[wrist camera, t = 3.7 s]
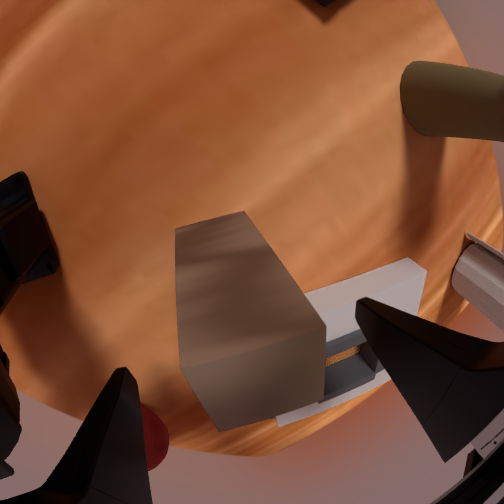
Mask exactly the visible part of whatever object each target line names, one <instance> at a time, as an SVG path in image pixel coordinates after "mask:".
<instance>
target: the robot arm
mask: <svg viewBox="0 0 504 504" xmlns="http://www.w3.org/2000/svg"><path fill="white" fill-rule="evenodd" d="M18 177H19V178H20V179H21V184H20V183H19V182H18ZM49 263H52V264H53V266H54V267H52V266H50V264H49ZM58 267H59V262H58V260H57V257H56V255H55V253H54V251H53V248H52V246H51V244H50V238H49V235H48V233H47V230H46V228H45V225H44V223H43V220H42V217H41V215H40V212H39V209H38V206H37V203H36V202H35V201H34V198H33V195H32V192H31V189H30V185H29V182H28V179H27V176H26V174H25V173H24V172H22V171H20V172H17V173H15V174H13V175H11V176H10V177H8V178H6V179H5V180H3V181H1V182H0V315H1V313H2V312H3V310H4V309H5V307H6V306H7V304H8V303H9V301H10V300H11V298H12V297H13V295H14V294H15V292H16V291H17V290H18V288H19V287H20V285H21V284H23V283H26V282H29V281H32V280H35V279H38V278H41V277H44V276H47V275H50V274H53V273H55V272H56V271H57V269H58ZM355 319H356V322H357V324H358V325H359V327H360V329H361V331H362V333H363V335H364V336H365V338H366V340H367V342H368V344H369V346H370V348H371V349H372V351H373V353H374V354H375V356H376V357H377V358H378V360H379V361H380V363H381V364H382V366H383V367H384V369H385V370H386V372H387V373H388V375H389V376H390V378H391V379H392V380H393V382H394V383H395V385H396V387H397V388H398V390H399V391H400V393H401V394H402V396H403V397H404V399H405V400H406V402H407V403H408V405H409V406H410V408H411V409H412V411H413V413H414V414H415V416H416V417H417V419H418V420H419V422H420V424H421V425H422V427H423V429H424V430H425V432H426V433H427V435H428V437H429V438H430V440H431V441H432V443H433V445H434V446H435V448H436V450H437V451H438V453H439V454H440V456H441V458H442V460H443V461H444V462H445V463H446V462H447V461H448V460H449V459H451V458H452V457H453V456H454V455H456V454H457V453H458V452H459V451H460V450H462V449H463V448H464V447H465V446H466V445H467V444H468V443H470V442H471V444H472V445H473V446H474V449H473V450H472V451H471V452H470V453H469V454H468V456H467V462H466V467H465V471H464V476H463V479H461V480H460V481H459V482H458V483H457V484H455V485H454V486H453V487H452V488H450V489H449V490H448V491H447V492H445V493H444V494H443V495H441V496H440V497H439V498H437V499H436V500H435V501H433V502H432V503H430V504H504V342H491V341H487V340H483V339H480V338H477V337H473V336H469V335H466V334H463V333H459V332H456V331H454V330H451V329H448V328H446V327H443V326H439V325H438V324H435V323H433V322H430V321H428V320H425V319H422V318H420V317H417V316H415V315H412V314H409V313H407V312H404V311H402V310H399V309H397V308H394V307H391V306H389V305H386V304H384V303H381V302H379V301H376V300H373V299H371V298H368V297H363V298H361V299H358V300H357V301H356V308H355ZM9 363H10V362H9V359H8V357H7V355H6V353H5V352H3V349H2V347H1V345H0V479H3V478H6V477H9V476H12V475H13V474H14V469H13V468H12V467H11V466H10V465H9V464H7V463H6V462H5V461H4V460H5V459H6V458H7V457H8V456H9V455H10V453H11V452H12V450H13V448H14V447H15V445H16V444H17V442H18V440H19V436H20V433H21V431H22V427H21V425H20V423H19V422H20V402H19V399H18V395H17V392H16V387H15V385H14V384H13V382H12V380H11V378H10V376H9ZM149 484H150V483H149V476H148V468H147V460H146V450H145V439H144V426H143V416H142V410H141V404H140V398H139V391H138V385H137V381H136V379H135V378H134V377H133V375H132V374H131V372H130V371H129V370H128V368H126V367H121V368H117V369H115V371H114V372H113V374H112V375H111V377H110V379H109V380H108V382H107V383H106V385H105V387H104V388H103V390H102V392H101V393H100V395H99V396H98V398H97V400H96V401H95V403H94V405H93V406H92V408H91V410H90V411H89V413H88V415H87V416H86V418H85V420H84V422H83V423H82V425H81V427H80V429H79V430H78V432H77V434H76V436H75V437H74V439H73V441H72V442H71V444H70V446H69V447H68V449H67V451H66V452H65V454H64V455H63V457H62V458H61V460H60V462H59V463H58V464H57V466H56V467H55V469H54V470H53V472H52V473H51V475H50V476H49V478H48V479H47V480H46V482H45V483H44V484H43V485H42V486H41V487H39V488H38V489H35V490H33V491H30V492H27V493H24V494H21V495H18V496H15V497H12V498H9V499H6V500H0V504H153V503H152V497H151V490H150V485H149Z"/></svg>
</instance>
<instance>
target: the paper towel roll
mask: <svg viewBox="0 0 504 504" xmlns="http://www.w3.org/2000/svg"><path fill="white" fill-rule="evenodd" d="M467 235H468V237H469V238H470V239H472V240H473V241H475V242H477V243H474V244H471V245H470V246H469V247H467V248H466V249H465V250H464V252H463V253H462V255H461V256H460V258H459V260H458V262H457V264H456V266H455V268H454V272H453V275H452V286H453V288H454V290H455V291H456V292H458V293H459V294H460V295H461V296H463V297H464V298H465V299H466V300H467V301H469V302H470V303H471V304H472V305H473V306H475V307H476V308H477V309H478V310H479V311H480V312H482V313H483V314H484V315H485V316H486V317H488V318H489V319H490V320H491V321H492V322H493V323H494V324H495V325H496V326H498V327H499V328H500V329H501V330H502V331H503V332H504V254H503V253H502V252H500V251H498V250H497V249H495V248H494V247H492V246H490V245H489V244H487V243H485V242H484V241H482V240H481V239H479V238H477V237H475V236H474V235H472V234H470V233H469V232H467Z"/></svg>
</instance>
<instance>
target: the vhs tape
mask: <svg viewBox="0 0 504 504" xmlns="http://www.w3.org/2000/svg"><path fill="white" fill-rule="evenodd" d="M316 1H317V2H319V3H320V4H321V5H322V6H323V7H325V6H326V5H328V4H329V3H331V2H333V1H335V0H316Z"/></svg>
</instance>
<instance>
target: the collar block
mask: <svg viewBox="0 0 504 504" xmlns="http://www.w3.org/2000/svg"><path fill="white" fill-rule="evenodd" d="M426 273H427V271H426V270H425V269H423V268H422V267H421V266H419V265H418V264H417V263H415V262H414V261H413V260H411V259H410V258H408V257H406V258H404V259H401V260H399V261H396V262H393V263H391V264H388V265H385V266H383V267H380V268H377V269H374V270H372V271H369V272H366V273H363V274H360V275H358V276H355V277H352V278H349V279H346V280H343V281H340V282H337V283H334V284H332V285H329V286H326V287H323V288H319V289H316V290H313V291H310V292H307V293H304V295H305V296H306V297H307V299H308V300H309V302H310V303H311V305H312V306H313V307H314V309H315V310H316V312H317V313H318V315H319V316H320V317H321V319H322V320H323V322H324V323H325V325H326V358H328V357H330V356H333V355H335V354H338V353H340V352H343V351H345V350H348V349H350V348H352V347H355V346H357V345H359V344H361V348H360V353H358V354H356V355H353V356H351V357H349V358H346V359H344V360H342V361H339V362H337V363H334V364H332V365H329V366H327V367H325V383H324V399H323V400H321V401H318V402H316V403H313V404H310V405H308V406H305V407H302V408H299V409H297V410H294V411H291V412H288V413H285V414H282V415H279V416H276V417H275V420H276V422H277V425H278V427H280V426H283V425H286V424H289V423H292V422H295V421H298V420H301V419H304V418H306V417H309V416H312V415H314V414H317V413H320V412H322V411H325V410H327V409H329V408H332V407H334V406H337V405H339V404H341V403H344V402H346V401H348V400H350V399H353V398H355V397H357V396H359V395H361V394H363V393H365V392H367V391H369V390H371V389H373V388H375V387H377V386H379V385H381V384H383V383H385V382H387V381H389V380H391V378H390V376H389V375H388V373H387V372H386V370H385V369H384V367H383V366H382V364H381V363H380V361H379V360H378V358H377V357H376V356H375V354H374V353H373V351H372V349H371V348H370V346H369V344H368V342H367V340H366V338H365V336H364V335H363V333H362V331H361V329H360V327H359V325H358V324H357V322H356V319H355V308H356V301H357V300H358V299H361V298H363V297H368V298H371V299H373V300H376V301H379V302H381V303H384V304H386V305H389V306H391V307H394V308H397V309H399V310H402V311H404V312H407V313H409V314H412V315H415V316H417V312H418V308H419V304H420V300H421V296H422V292H423V287H424V283H425V278H426Z"/></svg>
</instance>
